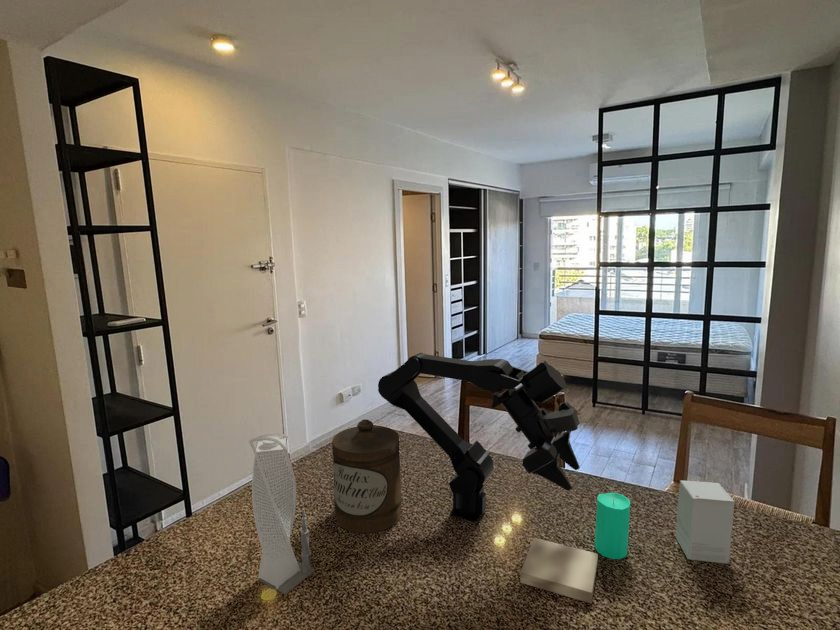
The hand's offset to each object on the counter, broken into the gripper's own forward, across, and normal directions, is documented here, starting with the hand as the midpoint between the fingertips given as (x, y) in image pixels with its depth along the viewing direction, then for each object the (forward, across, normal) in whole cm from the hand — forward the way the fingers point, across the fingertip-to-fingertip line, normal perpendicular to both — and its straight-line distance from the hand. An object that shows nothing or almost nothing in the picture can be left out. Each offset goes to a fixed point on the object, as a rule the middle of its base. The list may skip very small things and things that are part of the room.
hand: (574, 478), depth 95 cm
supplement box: (+25, +7, -9) cm, 28 cm away
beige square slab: (+10, -11, +8) cm, 17 cm away
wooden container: (-17, -11, +41) cm, 46 cm away
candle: (+15, 0, +3) cm, 15 cm away
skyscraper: (-19, -35, +43) cm, 59 cm away
